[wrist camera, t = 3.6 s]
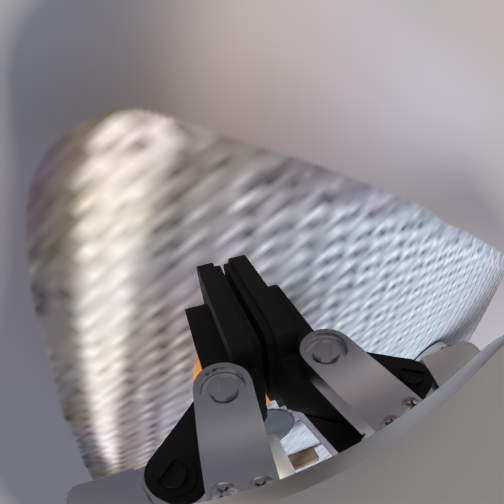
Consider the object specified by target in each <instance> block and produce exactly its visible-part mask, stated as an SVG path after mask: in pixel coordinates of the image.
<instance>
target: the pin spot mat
mask: <svg viewBox="0 0 504 504" xmlns="http://www.w3.org/2000/svg"><path fill="white" fill-rule="evenodd" d="M293 424H294V419H293V417H292V416H291V414H289V413H288V412H285V411H281V410H267V418H266V420H265V422H264V426H265V430H266V433H267V434H271V433H276V434H277V436H278V438H279V440H281V439H282V438H284V437H285V436H286V435H287V434H288V433H289V431H290V430H291V429H292V427H293Z"/></svg>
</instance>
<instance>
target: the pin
mask: <svg viewBox="0 0 504 504" xmlns="http://www.w3.org/2000/svg"><path fill="white" fill-rule="evenodd" d="M267 437H268V440H269V444H270V447H271V451H272V454H273V458H274V461H275V464H276V468H277V471H278V474H279V478H280V479H282V478H285V477H287V476H290V475H292V474H295V473H296V472H295V470H294V468H293V466H292V464H291V462H290V460H289V458H288V456H287V454H286V452H285V450H284V448H283V446H282V444H281V442H280V440H279V438H278V436H277V434H276V433H271V434H267Z"/></svg>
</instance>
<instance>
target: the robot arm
mask: <svg viewBox="0 0 504 504" xmlns="http://www.w3.org/2000/svg"><path fill="white" fill-rule="evenodd" d="M197 272H198V277H199V282H200V286H201V291H202V295H203V300H204V304H203V305H199V306H196V307H192V308H188V309H185V311H186V315H187V319H188V322H189V326H190V330H191V333H192V337H193V341H194V344H195V347H196V351H197V354H198V358H199V361H200V364H201V368H202V371H201V372H200V373H199V374H198V375H197V376H196V378H195V380H194V382H193V398H194V402H193V403H192V404H191V406H190V407H189V408H188V410H187V411H186V412H185V414H184V415H183V416H182V418H181V419H180V421H179V422H178V423H177V425H176V426H175V427H174V429H173V430H172V431H171V433H170V434H169V435H168V437H167V438H166V439H165V440H164V442H163V443H162V444H161V446H160V447H159V448H158V450H157V451H156V452H155V453H154V455H153V456H152V457H151V459H150V460H149V461H148V463H147V465H146V466H144V467H142V468H139V469H136V470H135V469H134V468H131V469H128V470H125V471H122V472H119V473H116V474H113V475H110V476H106V477H103V478H100V479H96V480H93V481H89V482H85V483H81V484H78V485H76V486H74V487H72V488H71V489H70V490H69V492H68V493H67V497H66V503H67V504H504V336H501V337H499V338H498V339H496V340H494V341H493V342H491V343H490V344H488V345H487V346H486V347H485V348H484V349H483V350H481V351H480V350H479V349H478V348H477V347H476V346H475V345H474V344H472V343H470V342H465V341H463V342H459V343H456V344H454V345H452V346H449V347H448V346H447V345H446V344H445V343H444V342H438V343H436V344H434V345H432V346H431V347H429V348H428V349H427V350H425V351H424V352H423V353H422V354H421V355H420V356H419V357H418V358H417V359H416V360H412V359H406V358H399V357H392V356H386V355H380V354H374V353H369V352H365V351H364V350H363V349H362V348H361V347H359V346H358V345H357V344H356V343H355V342H353V341H352V340H351V339H350V338H349V337H347V336H346V335H345V334H343V333H341V332H339V331H336V330H332V329H320V330H316V331H313V329H312V328H311V327H310V326H309V324H308V323H307V322H306V321H305V319H304V318H303V317H302V315H301V314H300V313H299V312H298V310H297V309H296V308H295V307H294V305H293V304H292V303H291V301H290V300H289V299H288V298H287V296H286V295H285V294H284V293H283V291H282V290H281V289H280V287H278V286H277V285H272V286H269V287H268V286H267V285H266V284H265V282H264V281H263V280H262V278H261V277H260V275H259V274H258V273H257V271H256V270H255V268H254V267H253V266H252V264H251V263H250V262H249V260H248V259H247V257H246V256H245V255H242V256H238V257H234V258H230V259H229V260H228V263H227V264H224V272H225V275H224V273H223V271H222V269H221V267H220V266H215V267H214V265H213V263H210V264H205V265H201V266H197ZM266 395H267V397H268V399H269V400H270V401H273V400H276V402H277V404H278V406H279V407H282V406H284V405H285V406H286V407H287V409H290V410H293V411H296V413H297V415H298V416H299V418H300V419H301V420H302V421H303V423H304V424H305V425H306V426H307V427H308V429H309V430H310V431H311V432H312V433H313V434H314V436H315V437H316V438H317V439H318V440H319V441H320V442H321V444H322V445H323V446H324V447H325V448H326V449H327V450H328V452H329V453H330V454H331V455H332V456H333V457H331V458H329V459H326V460H324V461H322V462H320V463H318V464H316V465H314V466H311V467H309V468H307V469H304V470H302V471H300V472H297V473H295V474H292V475H290V476H287V477H285V478H282V479H280V478H279V474H278V471H277V468H276V464H275V461H274V458H273V454H272V451H271V447H270V444H269V440H268V437H267V433H266V430H265V426H264V422H265V420H266V418H267V404H266Z"/></svg>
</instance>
